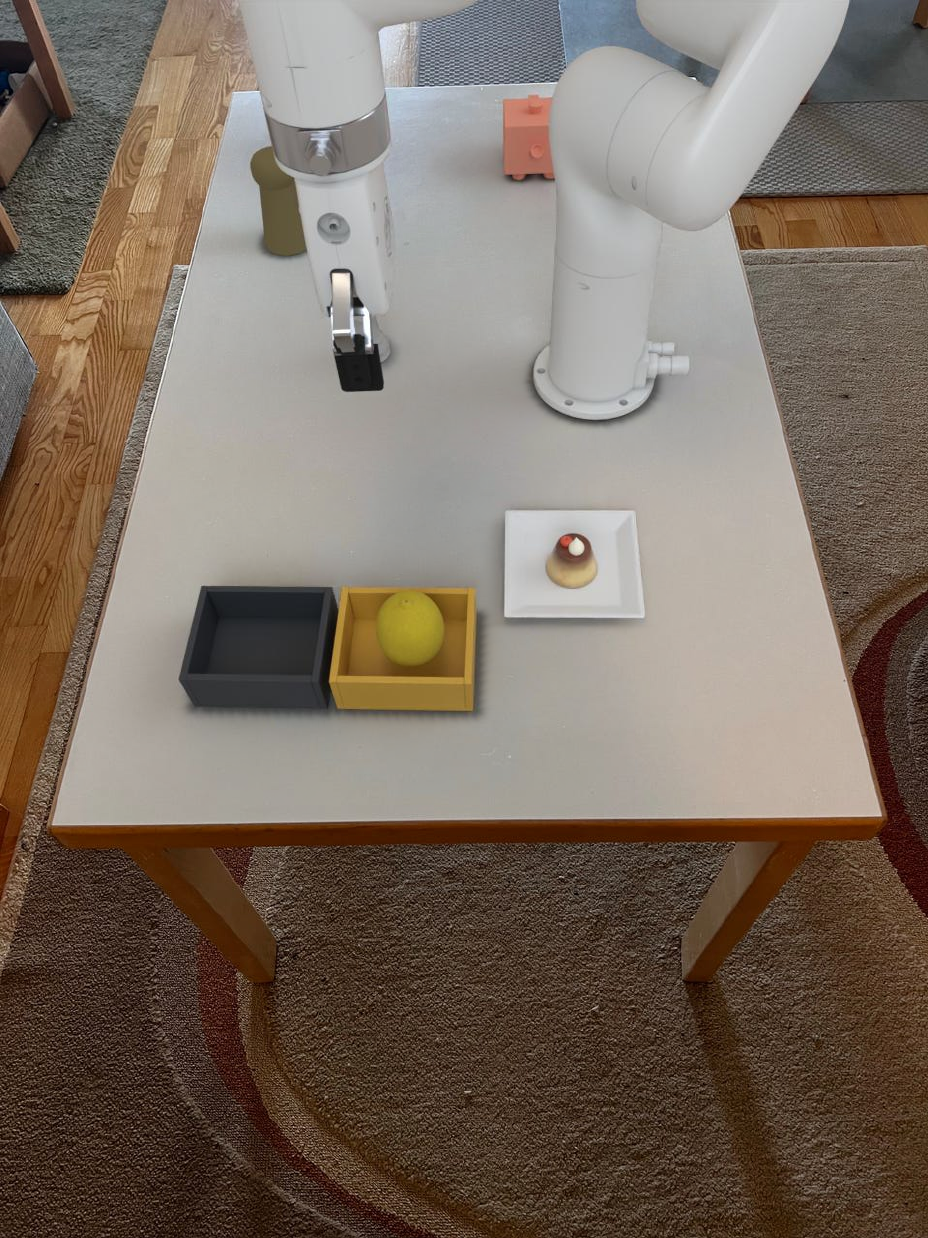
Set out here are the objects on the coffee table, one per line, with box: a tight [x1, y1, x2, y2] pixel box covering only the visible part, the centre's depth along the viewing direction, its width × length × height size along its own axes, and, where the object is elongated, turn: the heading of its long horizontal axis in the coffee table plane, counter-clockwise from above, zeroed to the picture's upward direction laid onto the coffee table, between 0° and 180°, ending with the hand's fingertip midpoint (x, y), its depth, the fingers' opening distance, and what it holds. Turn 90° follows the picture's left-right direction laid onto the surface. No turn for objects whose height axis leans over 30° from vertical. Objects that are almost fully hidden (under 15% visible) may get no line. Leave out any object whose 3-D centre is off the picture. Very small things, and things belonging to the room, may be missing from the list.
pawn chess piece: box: [249, 145, 307, 257], centre depth 107 cm, size 6×6×11 cm
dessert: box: [503, 509, 646, 619], centre depth 80 cm, size 12×12×5 cm
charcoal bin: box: [178, 585, 339, 710], centre depth 76 cm, size 11×9×4 cm
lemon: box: [376, 590, 445, 667], centre depth 74 cm, size 6×6×8 cm
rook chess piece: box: [353, 315, 391, 364], centre depth 96 cm, size 4×4×8 cm
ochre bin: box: [329, 586, 477, 712], centre depth 75 cm, size 11×9×4 cm
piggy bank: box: [502, 94, 555, 181], centre depth 115 cm, size 8×12×8 cm, turn 0°
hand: (367, 345), depth 71 cm, fingers open, 9 cm apart
